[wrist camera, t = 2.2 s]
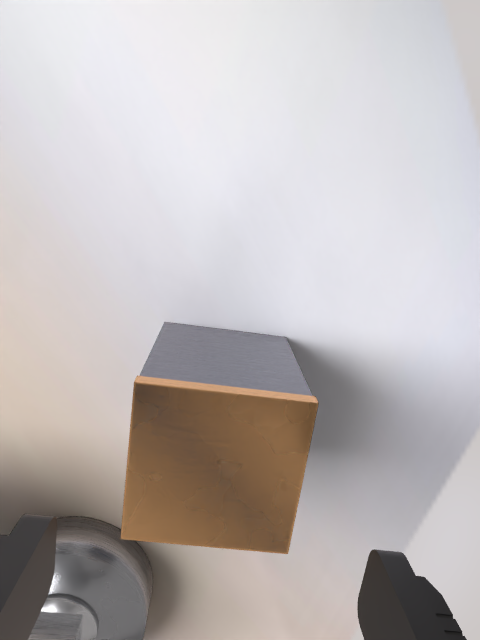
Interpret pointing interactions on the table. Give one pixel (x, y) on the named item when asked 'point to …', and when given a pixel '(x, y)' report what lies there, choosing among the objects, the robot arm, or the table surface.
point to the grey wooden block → (217, 441)
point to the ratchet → (95, 585)
